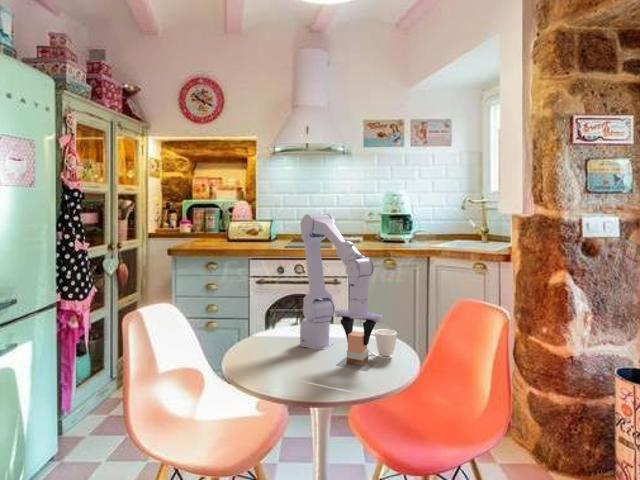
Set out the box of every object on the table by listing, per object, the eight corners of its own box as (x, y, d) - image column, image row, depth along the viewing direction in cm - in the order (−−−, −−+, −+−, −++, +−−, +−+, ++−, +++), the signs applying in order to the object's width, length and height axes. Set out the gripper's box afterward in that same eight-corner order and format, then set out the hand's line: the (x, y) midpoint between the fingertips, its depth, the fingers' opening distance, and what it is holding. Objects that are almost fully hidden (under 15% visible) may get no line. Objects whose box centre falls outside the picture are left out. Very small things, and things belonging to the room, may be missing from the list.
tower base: (346, 364, 142) (346, 357, 142) (352, 359, 146) (353, 352, 146) (362, 366, 140) (362, 360, 139) (368, 361, 144) (368, 355, 144)
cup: (395, 361, 146) (396, 335, 145) (363, 358, 148) (363, 333, 147) (397, 354, 152) (398, 329, 152) (366, 351, 155) (367, 327, 154)
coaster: (335, 366, 141) (335, 365, 141) (348, 356, 150) (348, 355, 150) (367, 372, 136) (367, 371, 136) (378, 361, 145) (378, 360, 145)
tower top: (346, 357, 142) (346, 351, 141) (353, 352, 146) (353, 346, 146) (362, 360, 139) (362, 353, 139) (368, 355, 144) (368, 348, 144)
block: (347, 351, 141) (347, 334, 141) (353, 346, 145) (353, 330, 145) (361, 353, 139) (362, 336, 139) (367, 349, 143) (367, 332, 143)
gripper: (331, 298, 141) (330, 343, 142) (377, 303, 134) (376, 350, 136) (340, 294, 147) (339, 337, 148) (385, 299, 141) (384, 343, 142)
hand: (357, 343), depth 142 cm, fingers open, 5 cm apart
